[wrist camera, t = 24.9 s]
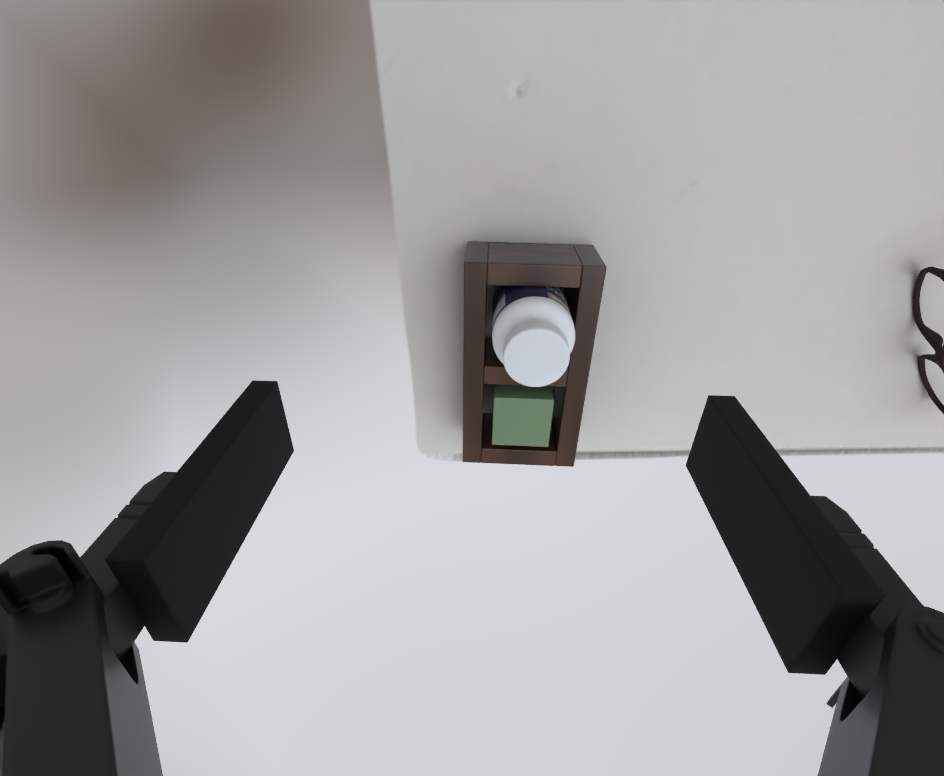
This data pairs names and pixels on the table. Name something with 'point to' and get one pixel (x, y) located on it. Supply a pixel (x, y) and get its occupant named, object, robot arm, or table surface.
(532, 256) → the wooden cubby shelf
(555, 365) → the pill bottle
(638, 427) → the table surface
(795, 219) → the table surface
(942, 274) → the eyeglasses
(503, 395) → the peg
